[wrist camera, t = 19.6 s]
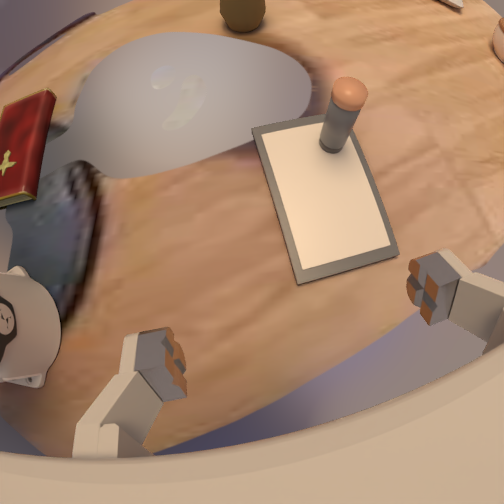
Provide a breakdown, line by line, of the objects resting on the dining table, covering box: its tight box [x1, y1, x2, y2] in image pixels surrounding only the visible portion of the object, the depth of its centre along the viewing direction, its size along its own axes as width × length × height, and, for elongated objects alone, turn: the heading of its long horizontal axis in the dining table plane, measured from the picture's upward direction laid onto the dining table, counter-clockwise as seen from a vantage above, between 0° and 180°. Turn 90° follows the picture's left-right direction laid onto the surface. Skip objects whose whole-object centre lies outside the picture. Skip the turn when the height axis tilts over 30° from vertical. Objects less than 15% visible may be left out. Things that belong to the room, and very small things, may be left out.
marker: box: [319, 77, 368, 154], centre depth 36 cm, size 4×4×12 cm
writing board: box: [252, 114, 400, 285], centre depth 41 cm, size 14×22×1 cm, turn 15°
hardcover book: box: [0, 88, 57, 210], centre depth 43 cm, size 12×21×4 cm, turn 5°
